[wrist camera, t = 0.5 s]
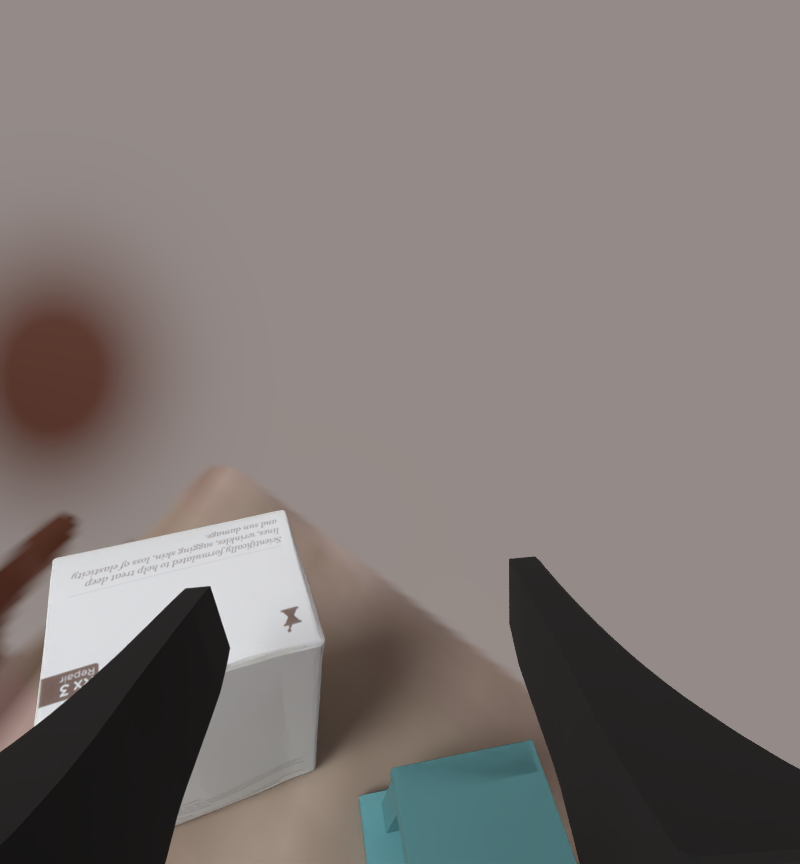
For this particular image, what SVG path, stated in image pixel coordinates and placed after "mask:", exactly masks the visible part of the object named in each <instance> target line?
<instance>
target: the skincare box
mask: <svg viewBox="0 0 800 864" xmlns="http://www.w3.org/2000/svg"><path fill="white" fill-rule="evenodd" d="M205 586H211V590H212V593H213V596H214V599H215V602H216V605H217V608H218V611H219V614H220V618H221V621H222V624H223V627H224V630H225V633H226V636H227V639H228V642H229V646H230V652H229V657H228V662H227V667H226V671H225V676H224V680H223V684H222V688H221V692H220V695H219V698H218V701H217V704H216V707H215V710H214V712H213V715H212V718H211V721H210V724H209V727H208V730H207V732H206V735H205V738H204V741H203V743H202V746H201V749H200V752H199V755H198V757H197V760H196V763H195V766H194V769H193V771H192V774H191V777H190V780H189V782H188V785H187V788H186V791H185V794H184V797H183V800H182V803H181V806H180V810H179V813H178V816H177V820H176V824H175V826H176V825H179V824H181V823H184V822H186V821H189V820H191V819H194V818H196V817H199V816H202V815H204V814H207V813H209V812H212V811H215V810H217V809H220V808H222V807H225V806H227V805H230V804H232V803H235V802H237V801H240V800H242V799H245V798H247V797H250V796H252V795H255V794H257V793H260V792H262V791H265V790H267V789H269V788H271V787H274V786H276V785H278V784H280V783H282V782H284V781H286V780H288V779H291V778H294V777H296V776H299V775H302V774H305V773H308V772H311V771H313V770H315V767H316V751H317V731H318V716H319V704H320V688H321V672H322V658H323V649H324V645H325V637H324V634H323V630H322V627H321V624H320V621H319V618H318V614H317V610H316V606H315V603H314V600H313V597H312V593H311V590H310V587H309V584H308V581H307V577H306V574H305V571H304V568H303V565H302V562H301V558H300V555H299V552H298V549H297V546H296V543H295V540H294V537H293V534H292V531H291V527H290V524H289V522H288V519H287V516H286V512H285V511H284V510H280V511H275V512H270V513H265V514H260V515H256V516H251V517H247V518H242V519H238V520H233V521H229V522H224V523H219V524H214V525H210V526H205V527H201V528H196V529H191V530H186V531H182V532H177V533H172V534H167V535H163V536H158V537H153V538H149V539H144V540H139V541H135V542H130V543H126V544H121V545H116V546H112V547H107V548H102V549H98V550H93V551H88V552H83V553H78V554H73V555H68V556H64V557H59V558H55V559H54V560H53V564H52V573H51V581H50V591H49V601H48V612H47V622H46V632H45V642H44V651H43V659H42V667H41V675H40V683H39V691H38V699H37V707H36V715H35V722H34V726H36V725H37V724H38V723H39V722H41V721H42V720H43V719H45V718H46V717H47V716H48V715H50V714H51V713H52V712H53V711H54V710H56V709H57V708H58V707H59V706H60V705H62V704H63V703H64V702H65V701H66V700H68V699H69V698H70V697H71V696H72V695H73V694H75V693H76V692H77V691H78V690H79V689H80V688H81V687H82V686H83V685H85V684H86V683H87V682H88V681H89V680H90V679H91V678H92V677H93V676H94V675H96V674H97V673H98V672H99V671H100V670H101V669H102V668H103V667H104V666H105V665H107V664H108V663H109V662H110V661H111V660H112V659H113V658H114V657H115V656H116V655H117V654H118V653H120V652H121V651H122V650H123V649H124V648H125V647H126V646H127V645H128V644H129V643H130V642H131V641H132V640H133V639H134V638H135V637H136V636H137V635H138V634H139V633H140V632H141V631H142V630H143V629H144V628H145V627H146V626H147V625H148V624H149V623H150V622H151V621H152V620H153V619H154V618H155V617H156V616H157V615H158V614H159V613H160V612H161V611H162V610H163V609H164V608H165V607H166V606H167V605H168V604H169V603H170V602H171V601H172V600H173V599H175V598H176V597H177V596H178V595H179V594H180V593H181V592H182V591H183V590H184V589H185V588H194V587H205Z"/></svg>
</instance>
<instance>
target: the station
mask: <svg viewBox="0 0 800 864" xmlns="http://www.w3.org/2000/svg"><path fill="white" fill-rule="evenodd" d="M390 777H391V783H390V786H389V788H388V790H385V791H380V792H375V793H371V794H366V795H361V796H360V797H359V806H360V814H361V822H362V830H363V838H364V846H365V854H366V862H367V864H577V863H576V860H575V857H574V854H573V852H572V849H571V846H570V843H569V841H568V838H567V835H566V832H565V830H564V827H563V824H562V821H561V818H560V816H559V813H558V810H557V807H556V805H555V802H554V799H553V796H552V793H551V791H550V788H549V785H548V782H547V780H546V777H545V774H544V771H543V769H542V766H541V763H540V760H539V757H538V755H537V752H536V749H535V746H534V744H533V741H532V740H528V741H523V742H518V743H514V744H509V745H504V746H499V747H494V748H489V749H484V750H479V751H474V752H469V753H464V754H459V755H454V756H449V757H444V758H439V759H435V760H430V761H425V762H420V763H415V764H410V765H405V766H400V767H395V768H392V770H391V772H390Z"/></svg>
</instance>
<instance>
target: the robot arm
mask: <svg viewBox="0 0 800 864" xmlns="http://www.w3.org/2000/svg"><path fill="white" fill-rule="evenodd" d="M509 604H510V605H509V610H510V611H509V613H510V614H509V616H510V618H509V620H510V621H509V623H510V628H511V632H512V636H513V641H514V646H515V650H516V654H517V658H518V663H519V666H520V669H521V672H522V675H523V678H524V681H525V684H526V687H527V690H528V693H529V695H530V698H531V701H532V704H533V707H534V710H535V713H536V715H537V718H538V721H539V724H540V727H541V730H542V733H543V735H544V738H545V741H546V744H547V747H548V750H549V752H550V755H551V758H552V761H553V764H554V767H555V771H556V774H557V777H558V780H559V784H560V787H561V791H562V795H563V799H564V803H565V807H566V811H567V815H568V818H569V822H570V826H571V830H572V834H573V838H574V842H575V846H576V850H577V854H578V858H579V862H580V864H800V769H798V768H796V767H795V766H793V765H791V764H789V763H787V762H786V761H784V760H782V759H780V758H779V757H777V756H775V755H774V754H772V753H770V752H769V751H767V750H765V749H764V748H762V747H760V746H759V745H757V744H755V743H754V742H752V741H750V740H749V739H747V738H745V737H744V736H742V735H741V734H739V733H737V732H736V731H734V730H733V729H731V728H730V727H728V726H726V725H725V724H724V723H722V722H721V721H719V720H718V719H716V718H715V717H713V716H712V715H710V714H709V713H707V712H706V711H704V710H703V709H701V708H700V707H698V706H697V705H696V704H694V703H693V702H691V701H689V700H688V699H687V698H685V697H684V696H683V695H681V694H680V693H679V692H677V691H676V690H675V689H673V688H672V687H671V686H669V685H668V684H667V683H665V682H664V681H663V680H662V679H660V678H659V677H658V676H656V675H655V674H654V673H653V672H651V671H650V670H649V669H648V668H646V667H645V666H644V665H643V664H642V663H640V662H639V661H638V660H637V659H636V658H635V657H633V656H632V655H631V654H630V653H629V652H628V651H626V650H625V649H624V648H623V647H622V646H621V645H620V644H619V643H618V642H617V641H615V640H614V639H613V638H612V637H611V636H610V635H609V634H608V633H607V632H606V631H605V630H604V629H603V628H602V627H601V626H599V625H598V624H597V623H596V622H595V621H594V620H593V619H592V618H591V617H590V616H589V615H588V614H587V613H586V612H585V611H584V610H583V608H582V607H580V606H579V604H578V603H577V602H576V601H575V600H574V599H573V598H572V597H571V596H570V595H569V594H568V593H567V592H566V591H565V589H564V588H563V587H562V586H561V585H560V584H559V583H558V582H557V581H556V579H555V578H554V577H553V576H552V575H551V574H550V572H549V571H548V570H547V569H546V568H545V567H544V566H543V564H542V563H541V562H540V561H539V560H538V559H537V558H536V557H525V558H515V559H509ZM229 652H230V646H229V642H228V639H227V636H226V633H225V630H224V627H223V624H222V621H221V618H220V614H219V611H218V608H217V605H216V602H215V599H214V596H213V593H212V590H211V586H205V587H194V588H185V589H184V590H183V591H182V592H181V593H180V594H179V595H178V596H177V597H176V598H175V599H173V600H172V601H171V602H170V603H169V604H168V605H167V606H166V607H165V608H164V609H163V610H162V611H161V612H160V613H159V614H158V615H157V616H156V617H155V618H154V619H153V620H152V621H151V622H150V623H149V624H148V625H147V626H146V627H145V628H144V629H143V630H142V631H141V632H140V633H139V634H138V635H137V636H136V637H135V638H134V639H133V640H132V641H131V642H130V643H129V644H128V645H127V646H126V647H125V648H124V649H123V650H122V651H121V652H120V653H118V654H117V655H116V656H115V657H114V658H113V659H112V660H111V661H110V662H109V663H108V664H107V665H105V666H104V667H103V668H102V669H101V670H100V671H99V672H98V673H97V674H96V675H94V676H93V677H92V678H91V679H90V680H89V681H88V682H87V683H86V684H85V685H83V686H82V687H81V688H80V689H79V690H78V691H77V692H76V693H75V694H73V695H72V696H71V697H70V698H69V699H68V700H66V701H65V702H64V703H63V704H62V705H60V706H59V707H58V708H57V709H56V710H54V711H53V712H52V713H51V714H50V715H48V716H47V717H46V718H45V719H43V720H42V721H41V722H39V723H38V724H37V725H36V726H34V727H33V728H32V729H31V730H29V731H28V732H27V733H26V734H24V735H23V736H22V737H20V738H19V739H18V740H16V741H15V742H14V743H12V744H11V745H10V746H8V747H7V748H5V749H4V750H3V751H1V752H0V864H165V862H166V858H167V854H168V850H169V847H170V843H171V839H172V835H173V831H174V827H175V824H176V820H177V816H178V813H179V810H180V806H181V803H182V800H183V797H184V794H185V791H186V788H187V785H188V782H189V780H190V777H191V774H192V771H193V769H194V766H195V763H196V760H197V757H198V755H199V752H200V749H201V746H202V743H203V741H204V738H205V735H206V732H207V730H208V727H209V724H210V721H211V718H212V715H213V712H214V710H215V707H216V704H217V701H218V698H219V695H220V692H221V688H222V684H223V680H224V676H225V671H226V667H227V662H228V657H229Z"/></svg>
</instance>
